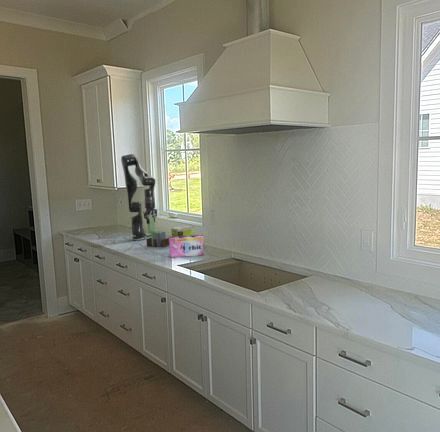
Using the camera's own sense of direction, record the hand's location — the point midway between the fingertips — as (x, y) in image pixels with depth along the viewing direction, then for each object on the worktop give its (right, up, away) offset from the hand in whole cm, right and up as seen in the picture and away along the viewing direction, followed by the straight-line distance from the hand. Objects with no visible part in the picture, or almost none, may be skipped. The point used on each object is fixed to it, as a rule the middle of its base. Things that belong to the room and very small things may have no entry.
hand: (151, 223), depth 324 cm
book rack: (+6, -19, +1) cm, 20 cm away
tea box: (+25, -18, +4) cm, 31 cm away
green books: (+4, -18, +1) cm, 18 cm away
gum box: (+36, -23, -30) cm, 52 cm away
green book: (0, -8, +1) cm, 8 cm away
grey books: (+8, -18, 0) cm, 20 cm away
